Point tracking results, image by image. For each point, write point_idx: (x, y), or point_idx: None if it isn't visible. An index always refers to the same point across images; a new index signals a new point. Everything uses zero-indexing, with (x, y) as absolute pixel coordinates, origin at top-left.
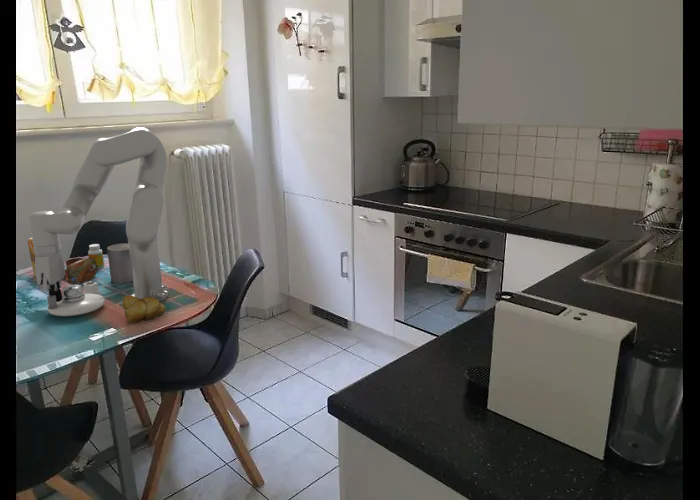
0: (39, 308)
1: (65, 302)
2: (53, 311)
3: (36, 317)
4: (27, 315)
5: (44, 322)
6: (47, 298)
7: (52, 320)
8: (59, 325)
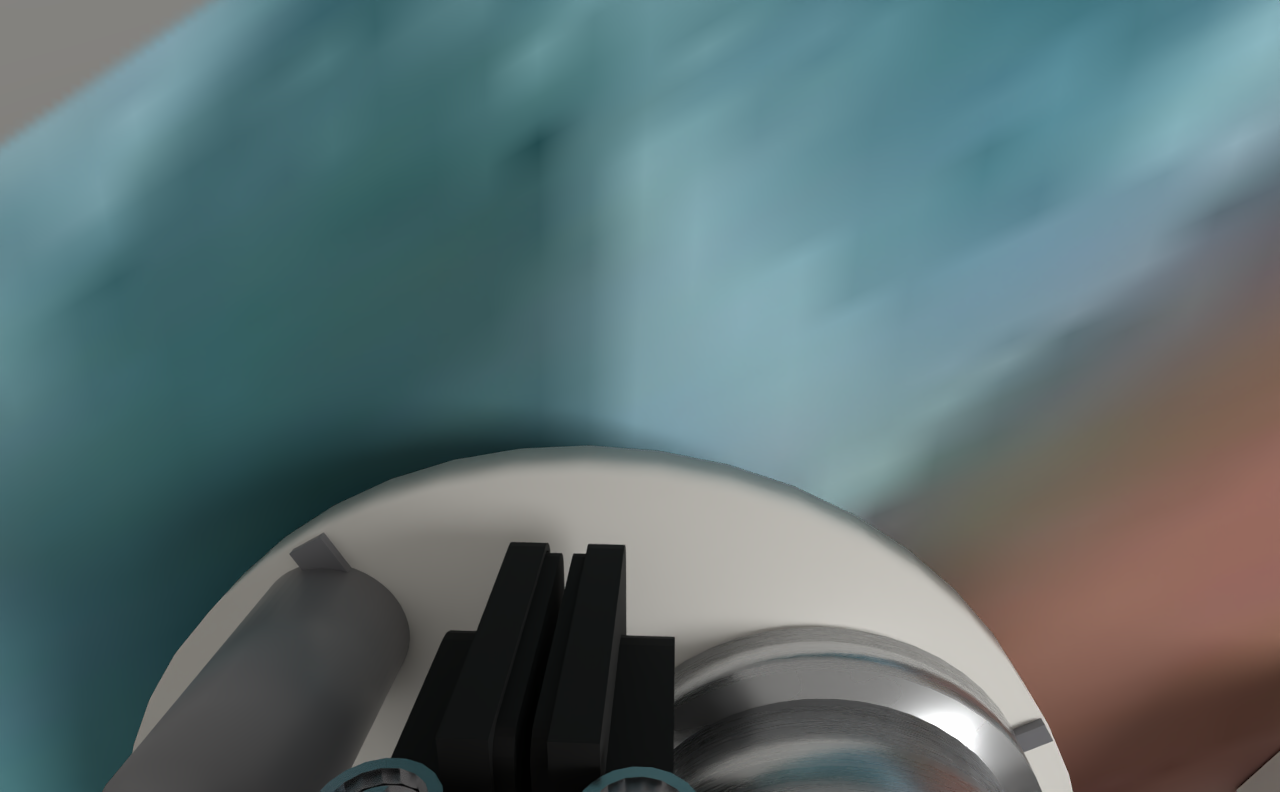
0: (696, 112)
1: None
2: (168, 703)
3: (246, 296)
4: (318, 54)
5: (77, 532)
6: (128, 758)
7: (170, 613)
8: (29, 771)
